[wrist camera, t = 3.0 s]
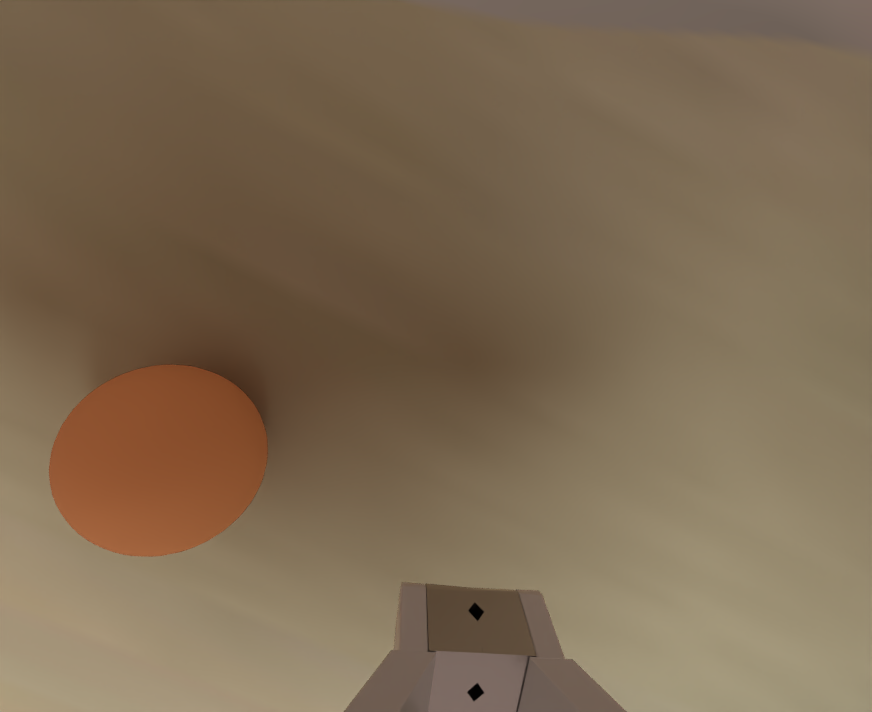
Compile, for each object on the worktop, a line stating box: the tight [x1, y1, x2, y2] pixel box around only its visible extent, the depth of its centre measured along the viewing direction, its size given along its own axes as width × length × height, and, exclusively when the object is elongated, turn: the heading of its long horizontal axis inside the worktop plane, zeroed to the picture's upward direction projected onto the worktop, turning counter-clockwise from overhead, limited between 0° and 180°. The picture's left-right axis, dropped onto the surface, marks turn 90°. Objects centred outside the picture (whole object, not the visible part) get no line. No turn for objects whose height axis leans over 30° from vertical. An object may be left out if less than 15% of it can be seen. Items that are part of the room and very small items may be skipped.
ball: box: [49, 365, 268, 556], centre depth 14 cm, size 6×6×6 cm
